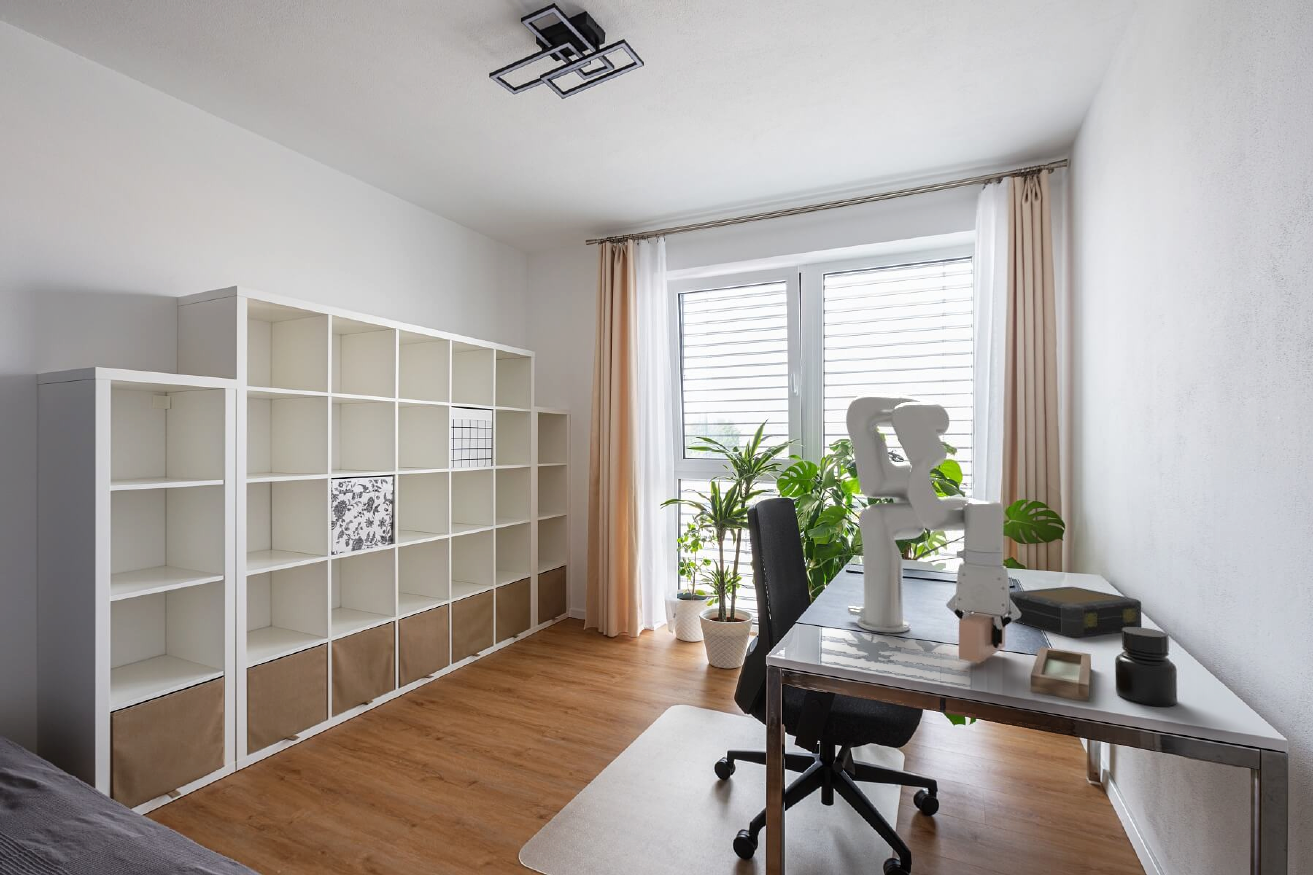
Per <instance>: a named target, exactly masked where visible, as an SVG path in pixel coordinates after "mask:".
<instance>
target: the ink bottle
mask: <svg viewBox="0 0 1313 875" xmlns="http://www.w3.org/2000/svg"><path fill="white" fill-rule="evenodd" d="M1169 639H1170V638H1169V634H1168V633H1167V632H1164V631H1161V630H1157V629H1154V628H1149V627H1141V628H1140V627H1124V628H1122V632H1121V645H1122V646H1121V649H1122V650H1123V651H1122V652H1120V654H1118V655H1117V656H1116V657H1115V661H1114V662H1115V664H1114V666H1115V667H1114V668H1115V669H1114V670H1115V671H1114V673H1115V692H1116V694H1117V695H1118V696H1120V697H1122V698H1123V699H1126V700H1128V701H1132V702H1134V703H1138V704H1142V705H1146V706H1155V707H1170V706H1174V705H1176V704H1178V673H1177V672H1178V671H1177V667H1176V665H1175V664H1174V663H1173V661H1171V660H1170V659H1169V658H1168V656H1169V651H1170V649H1169V648H1170V645H1169V644H1170V642H1169Z"/></svg>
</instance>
